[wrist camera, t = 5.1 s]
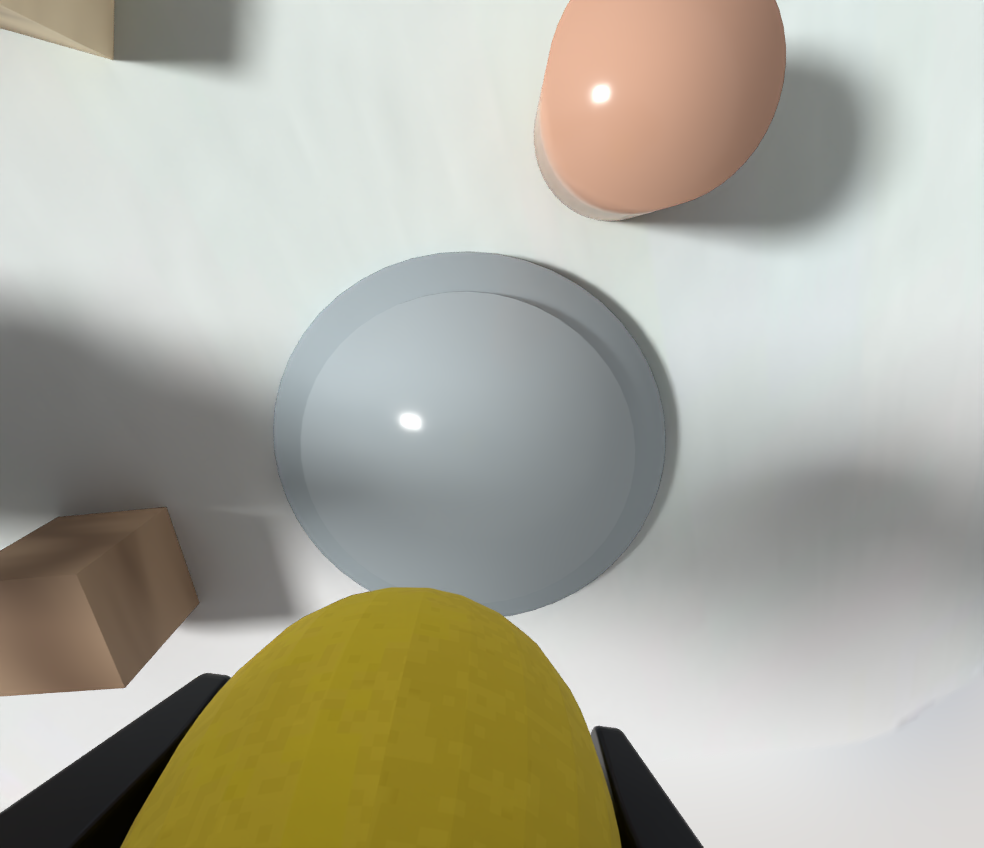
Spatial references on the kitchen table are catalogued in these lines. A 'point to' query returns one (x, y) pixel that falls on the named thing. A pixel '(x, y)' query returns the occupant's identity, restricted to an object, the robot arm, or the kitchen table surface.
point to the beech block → (63, 22)
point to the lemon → (387, 740)
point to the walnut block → (90, 601)
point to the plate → (470, 431)
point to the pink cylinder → (655, 100)
